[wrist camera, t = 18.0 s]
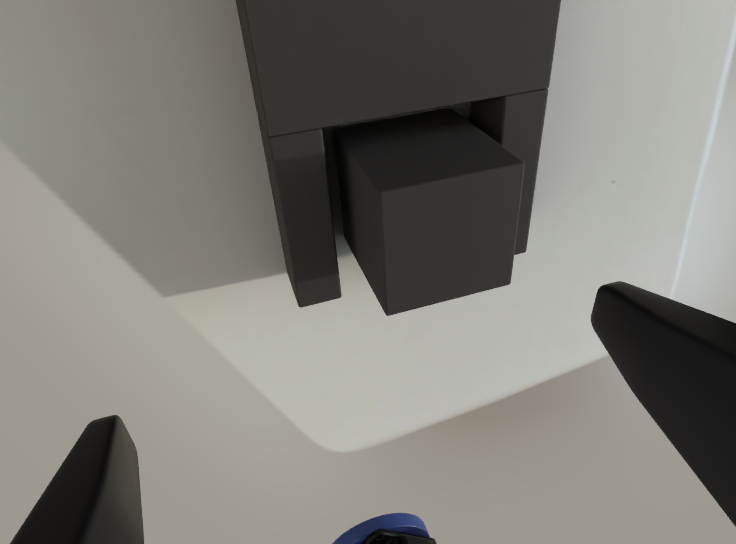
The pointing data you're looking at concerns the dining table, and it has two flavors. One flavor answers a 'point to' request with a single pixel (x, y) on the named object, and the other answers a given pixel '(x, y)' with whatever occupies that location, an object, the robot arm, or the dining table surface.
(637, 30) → the dining table surface
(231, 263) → the dining table surface
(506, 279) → the pad block
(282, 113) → the base pad
